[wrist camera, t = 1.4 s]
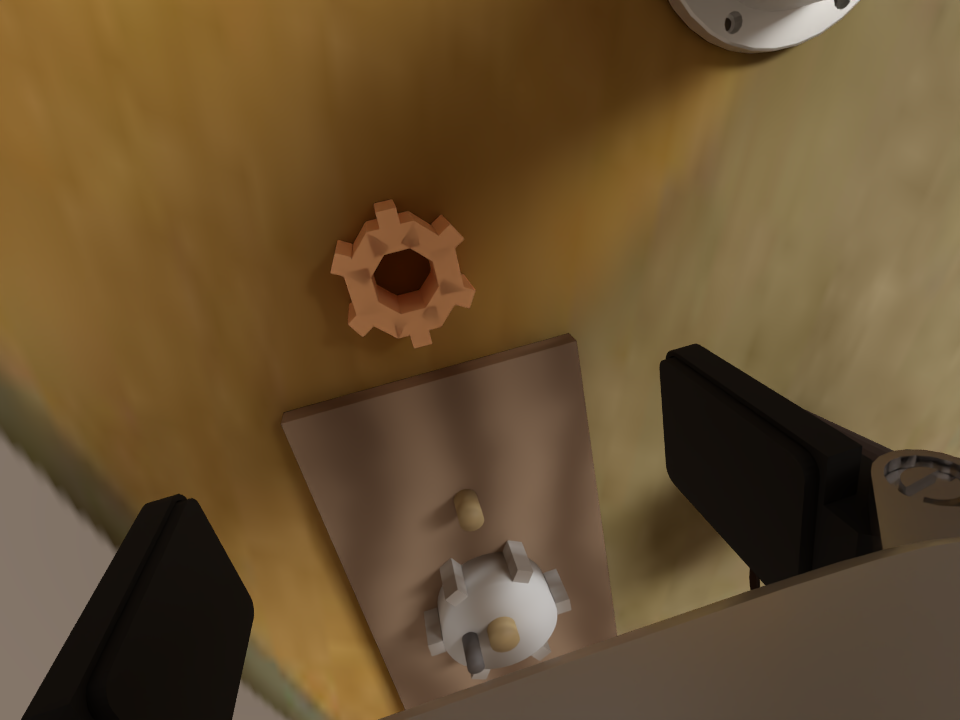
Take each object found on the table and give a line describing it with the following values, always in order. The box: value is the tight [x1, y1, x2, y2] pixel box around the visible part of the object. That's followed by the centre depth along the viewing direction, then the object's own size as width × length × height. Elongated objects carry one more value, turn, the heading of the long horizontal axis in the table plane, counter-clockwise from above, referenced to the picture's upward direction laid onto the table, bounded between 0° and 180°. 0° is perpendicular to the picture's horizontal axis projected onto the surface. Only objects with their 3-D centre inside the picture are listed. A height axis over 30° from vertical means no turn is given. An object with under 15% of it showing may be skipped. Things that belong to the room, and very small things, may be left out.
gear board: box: [281, 333, 617, 710], centre depth 32 cm, size 16×26×6 cm, turn 12°
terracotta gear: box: [330, 199, 476, 349], centre depth 25 cm, size 6×6×3 cm
